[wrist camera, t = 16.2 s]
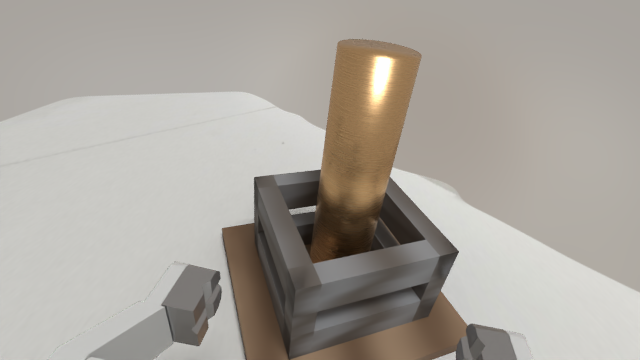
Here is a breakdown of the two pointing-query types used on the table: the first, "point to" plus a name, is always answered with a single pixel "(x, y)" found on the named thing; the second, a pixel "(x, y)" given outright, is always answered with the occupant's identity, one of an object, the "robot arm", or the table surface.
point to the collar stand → (340, 282)
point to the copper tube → (360, 143)
